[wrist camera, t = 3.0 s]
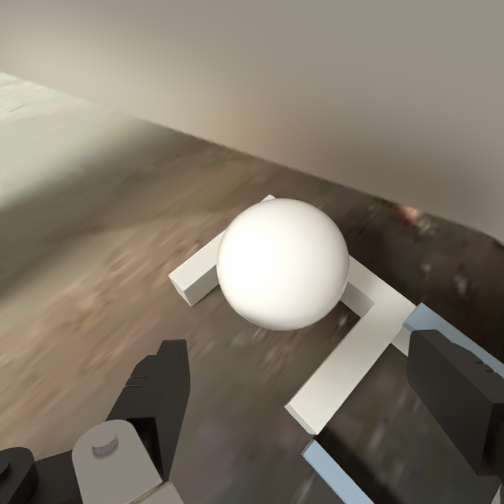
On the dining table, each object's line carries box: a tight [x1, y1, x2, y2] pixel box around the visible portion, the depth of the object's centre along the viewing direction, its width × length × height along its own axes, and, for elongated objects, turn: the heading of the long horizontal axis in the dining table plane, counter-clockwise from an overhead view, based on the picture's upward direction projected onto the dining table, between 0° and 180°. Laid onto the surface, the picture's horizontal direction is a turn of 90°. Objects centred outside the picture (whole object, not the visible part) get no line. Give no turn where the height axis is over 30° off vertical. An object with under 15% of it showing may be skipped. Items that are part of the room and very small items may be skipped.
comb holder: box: [168, 195, 504, 504], centre depth 19 cm, size 23×11×4 cm, turn 44°
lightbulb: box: [217, 198, 350, 331], centre depth 17 cm, size 6×6×11 cm
